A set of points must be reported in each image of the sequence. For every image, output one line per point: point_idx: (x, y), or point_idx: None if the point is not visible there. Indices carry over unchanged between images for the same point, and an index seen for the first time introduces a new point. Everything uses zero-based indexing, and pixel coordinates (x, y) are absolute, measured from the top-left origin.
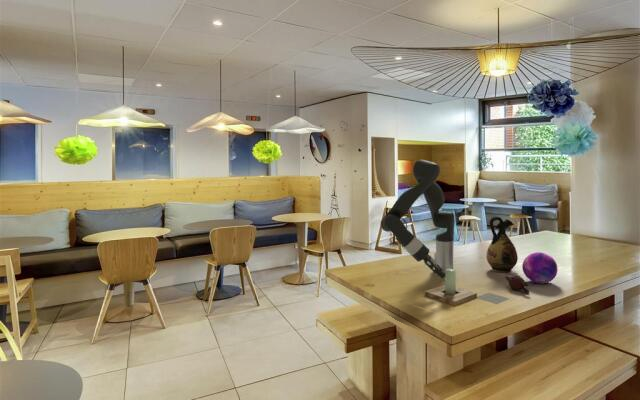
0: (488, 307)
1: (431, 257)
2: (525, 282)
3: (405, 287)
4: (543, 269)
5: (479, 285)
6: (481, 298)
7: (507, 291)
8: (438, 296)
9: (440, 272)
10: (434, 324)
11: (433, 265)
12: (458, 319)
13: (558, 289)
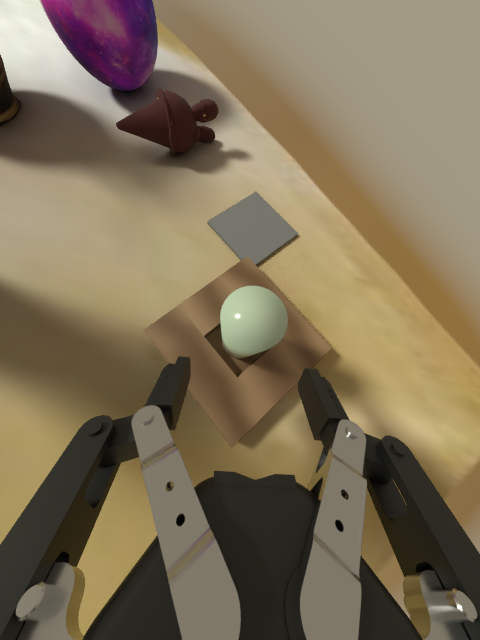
0: (317, 261)
1: (234, 584)
2: (212, 104)
3: (111, 520)
4: (147, 6)
5: (130, 220)
6: (258, 255)
7: (192, 174)
8: (283, 395)
9: (341, 409)
10: (470, 446)
11: (456, 536)
12: (416, 365)
13: (184, 78)
